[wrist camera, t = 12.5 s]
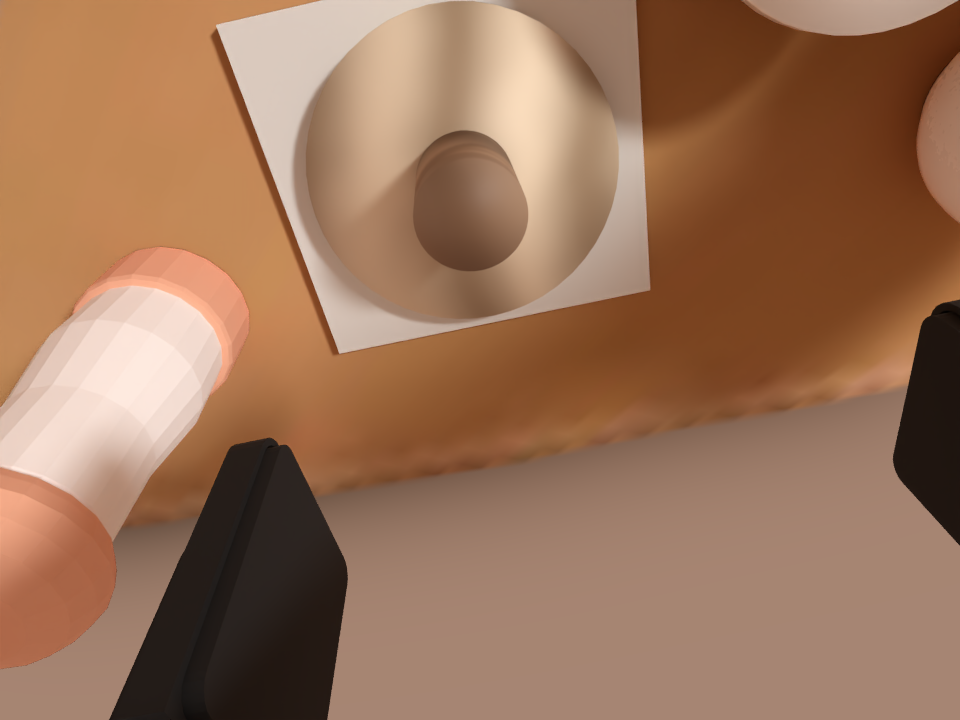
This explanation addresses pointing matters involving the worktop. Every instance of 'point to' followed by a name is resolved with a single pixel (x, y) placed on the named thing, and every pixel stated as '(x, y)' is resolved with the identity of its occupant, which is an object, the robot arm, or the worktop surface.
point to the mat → (296, 89)
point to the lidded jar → (942, 139)
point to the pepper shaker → (102, 434)
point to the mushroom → (846, 14)
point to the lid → (462, 160)
